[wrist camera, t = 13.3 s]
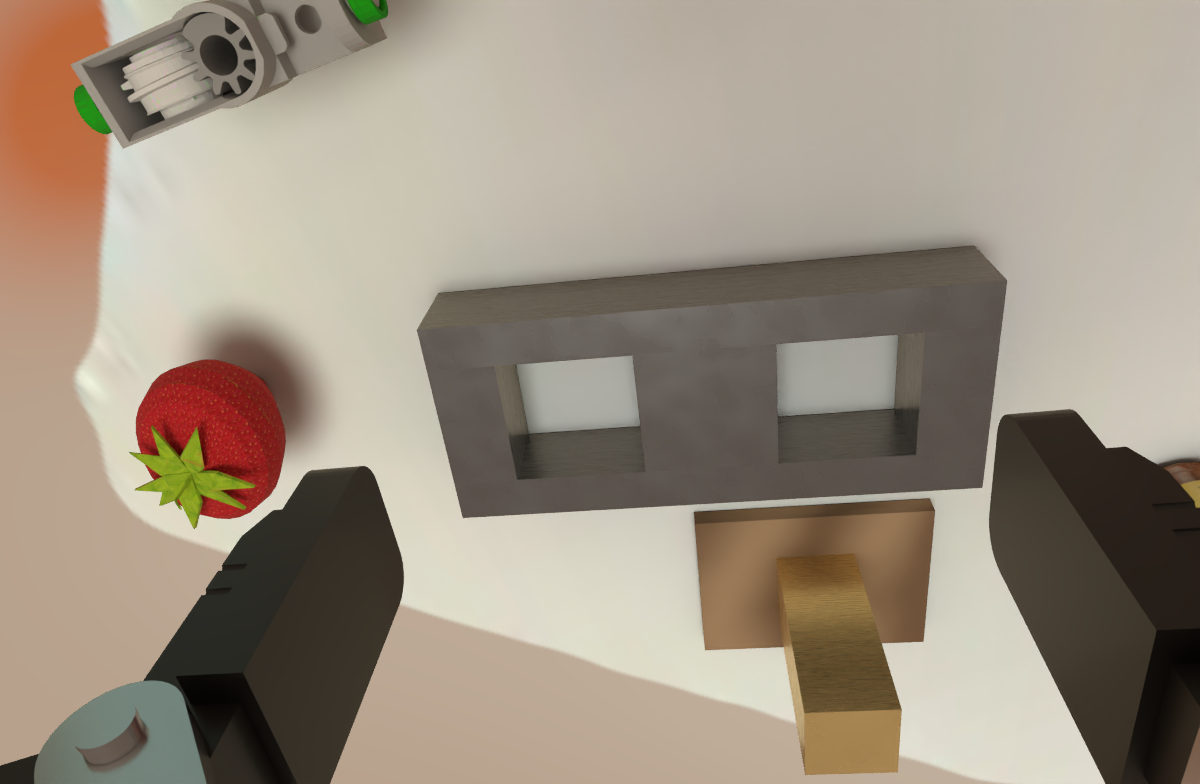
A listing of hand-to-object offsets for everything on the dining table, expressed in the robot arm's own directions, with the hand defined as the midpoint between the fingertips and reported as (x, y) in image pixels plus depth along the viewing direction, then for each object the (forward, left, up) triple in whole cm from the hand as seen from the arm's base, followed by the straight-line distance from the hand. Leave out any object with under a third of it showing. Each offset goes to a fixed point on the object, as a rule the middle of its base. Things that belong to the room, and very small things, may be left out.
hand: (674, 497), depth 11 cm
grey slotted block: (-1, +13, -27) cm, 30 cm away
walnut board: (-6, +26, -27) cm, 38 cm away
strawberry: (+21, +12, -28) cm, 37 cm away
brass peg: (-6, +26, -26) cm, 37 cm away
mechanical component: (+13, -4, -28) cm, 31 cm away
